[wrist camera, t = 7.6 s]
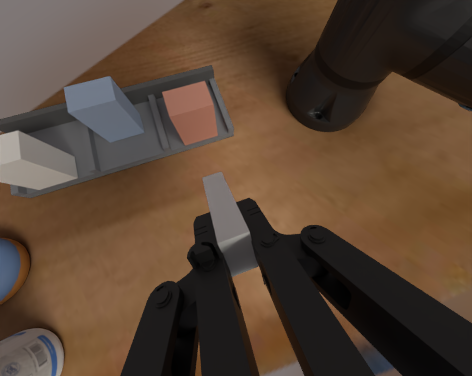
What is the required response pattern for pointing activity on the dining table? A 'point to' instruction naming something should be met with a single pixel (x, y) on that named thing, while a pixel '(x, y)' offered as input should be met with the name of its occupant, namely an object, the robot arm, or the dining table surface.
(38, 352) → the supplement tub
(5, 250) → the doughnut
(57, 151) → the white rectangular block
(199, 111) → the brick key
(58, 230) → the dining table surface
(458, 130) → the dining table surface
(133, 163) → the grey divided tray
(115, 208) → the dining table surface
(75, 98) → the blue rectangular block
